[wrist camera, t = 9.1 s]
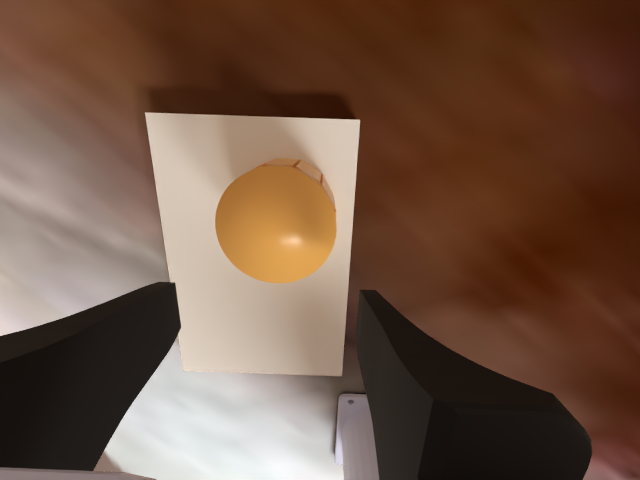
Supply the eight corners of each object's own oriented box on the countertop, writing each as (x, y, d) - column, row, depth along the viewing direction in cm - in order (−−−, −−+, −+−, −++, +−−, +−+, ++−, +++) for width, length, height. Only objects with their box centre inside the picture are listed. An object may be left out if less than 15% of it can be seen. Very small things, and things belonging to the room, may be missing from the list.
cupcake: (335, 160, 17) (339, 168, 13) (331, 248, 19) (333, 285, 14) (240, 157, 17) (209, 164, 13) (245, 245, 19) (220, 281, 14)
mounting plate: (357, 121, 18) (369, 115, 13) (340, 362, 24) (345, 417, 19) (159, 114, 18) (100, 106, 13) (191, 356, 24) (158, 411, 19)
